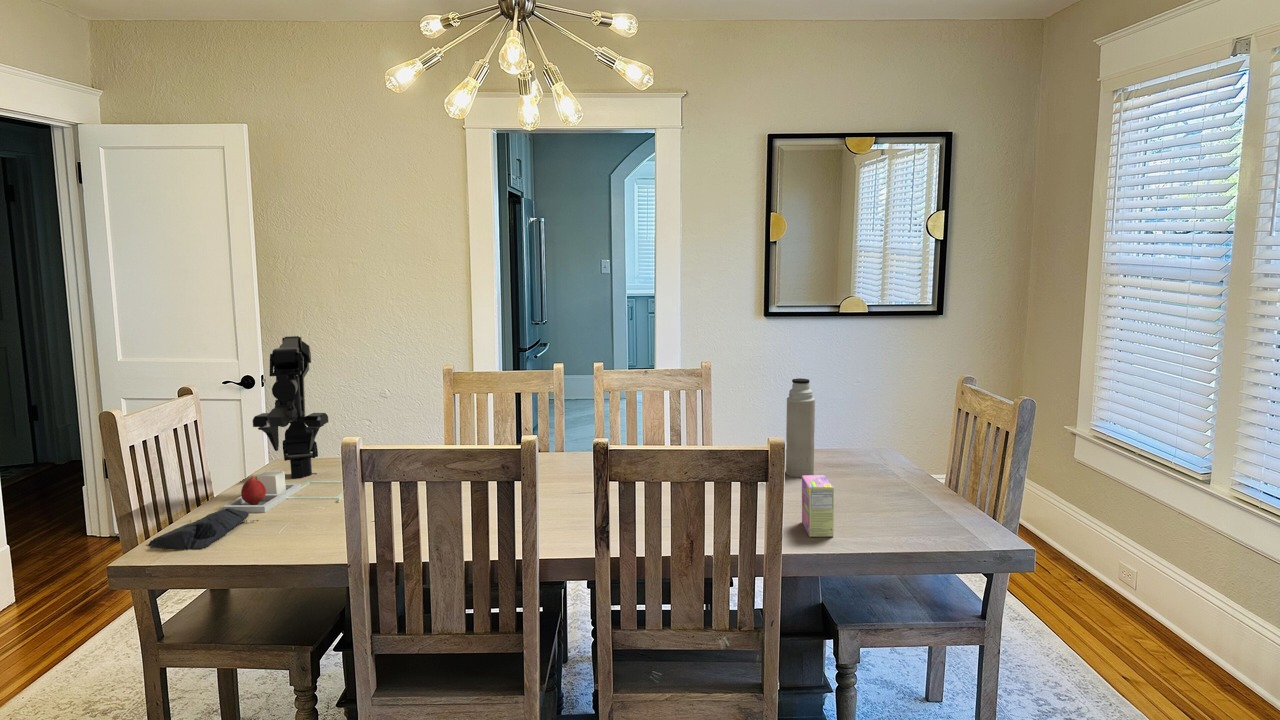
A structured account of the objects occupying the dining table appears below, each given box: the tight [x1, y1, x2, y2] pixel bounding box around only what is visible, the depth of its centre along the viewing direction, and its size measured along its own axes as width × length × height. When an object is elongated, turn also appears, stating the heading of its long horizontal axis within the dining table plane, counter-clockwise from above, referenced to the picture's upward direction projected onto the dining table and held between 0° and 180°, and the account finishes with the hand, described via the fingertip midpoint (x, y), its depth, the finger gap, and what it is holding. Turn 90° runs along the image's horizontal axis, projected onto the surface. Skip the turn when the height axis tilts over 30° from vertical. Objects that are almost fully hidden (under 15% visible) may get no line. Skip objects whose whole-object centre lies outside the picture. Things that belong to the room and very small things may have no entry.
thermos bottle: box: [785, 378, 816, 478], centre depth 234 cm, size 8×8×28 cm
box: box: [801, 474, 835, 538], centre depth 189 cm, size 10×6×12 cm, turn 178°
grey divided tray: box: [221, 483, 302, 514], centre depth 215 cm, size 20×11×2 cm, turn 177°
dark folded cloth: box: [148, 508, 250, 551], centre depth 193 cm, size 15×22×5 cm
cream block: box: [256, 470, 286, 494], centre depth 219 cm, size 5×5×6 cm
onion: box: [240, 475, 266, 505], centre depth 210 cm, size 6×6×8 cm
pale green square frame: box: [285, 480, 344, 503], centre depth 223 cm, size 16×16×1 cm
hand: (293, 450), depth 221 cm, fingers open, 9 cm apart
